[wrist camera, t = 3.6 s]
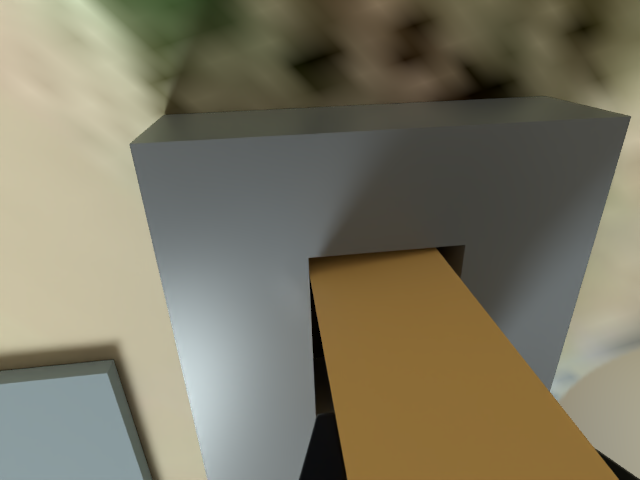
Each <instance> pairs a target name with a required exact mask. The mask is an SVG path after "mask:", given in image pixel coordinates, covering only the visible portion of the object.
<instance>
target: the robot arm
mask: <svg viewBox="0 0 640 480" xmlns="http://www.w3.org/2000/svg"><path fill="white" fill-rule="evenodd" d="M594 449H595V448H594ZM595 450H596V451H597V452H598V454H599V455H600V456H601V457H602V459H603V460H604V461H605V463H606V464H607V465H608V466H609V468H610V469H611V470H612V471H613V473H614V474H615V475H616V476H617V478H618V479H619V480H640V479H639V478H637V477H635V476H634V475H633V474H631V473H630V472H628V471H627V470H625V469H624V468H623V467H621V466H620V465H618V464H617V463H615V462H614V461H613V460H611V459H610V458H608V457H607V456H605V455H604V454H602V453H601V452H600V451H598V450H597V449H595ZM299 480H347V475H346V469H345V464H344V458H343V453H342V448H341V442H340V437H339V431H338V426H337V421H336V415H335V412H334V411H331V412H326V413H321V414H318V415H317V417H316V419H315V423H314V427H313V430H312V434H311V437H310V441H309V444H308V448H307V452H306V455H305V459H304V462H303V466H302V469H301V473H300V477H299Z"/></svg>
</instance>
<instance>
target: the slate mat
mask: <svg viewBox="0 0 640 480" xmlns="http://www.w3.org/2000/svg"><path fill="white" fill-rule="evenodd" d="M0 480H152V477H151V474H150V471H149V468H148V465H147V462H146V459H145V456H144V452H143V449H142V446H141V443H140V440H139V437H138V434H137V431H136V428H135V425H134V422H133V419H132V415H131V412H130V409H129V406H128V403H127V400H126V397H125V394H124V391H123V388H122V385H121V382H120V378H119V375H118V372H117V369H116V366H115V363H114V360H105V361H95V362H85V363H75V364H65V365H55V366H45V367H35V368H25V369H16V370H6V371H0Z"/></svg>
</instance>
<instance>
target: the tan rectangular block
mask: <svg viewBox="0 0 640 480" xmlns="http://www.w3.org/2000/svg"><path fill="white" fill-rule="evenodd" d="M308 261H309V275H310V280H311V286H312V291H313V297H314V302H315V307H316V313H317V318H318V324H319V329H320V334H321V340H322V345H323V351H324V356H325V361H326V367H327V372H328V378H329V383H330V388H331V394H332V399H333V405H334V410H335V415H336V421H337V426H338V431H339V437H340V442H341V448H342V453H343V458H344V464H345V469H346V475H347V480H619V479H618V478H617V476H616V475H615V474H614V473H613V471H612V470H611V469H610V468H609V466H608V465H607V464H606V463H605V461H604V460H603V459H602V457H601V456H600V455H599V454H598V452H597V451H596V450H595V449H594V447H593V446H592V445H591V444H590V443H589V441H588V440H587V438H586V437H585V436H584V435H583V434H582V432H581V431H580V430H579V428H578V427H577V426H576V425H575V423H574V422H573V421H572V420H571V418H570V417H569V416H568V414H566V412H565V411H564V409H563V408H562V407H561V406H560V404H559V403H558V402H557V400H556V399H555V398H554V397H553V395H552V394H551V393H550V392H549V390H548V389H547V388H546V387H545V385H544V384H543V383H542V382H541V380H540V379H539V378H538V376H537V375H536V374H535V373H534V371H533V370H532V369H531V368H530V366H529V365H528V364H527V363H526V361H525V360H524V359H523V357H522V356H521V355H520V354H519V352H518V351H517V350H516V349H515V347H514V346H513V345H512V344H511V342H510V341H509V340H508V338H507V337H506V336H505V335H504V333H503V332H502V331H501V330H500V328H499V327H498V326H497V325H496V323H495V322H494V321H493V319H492V318H491V317H490V316H489V314H488V313H487V312H486V311H485V309H484V308H483V307H482V306H481V304H480V303H479V302H478V300H477V299H476V298H475V297H474V295H473V294H472V293H471V292H470V290H469V289H468V288H467V287H466V285H465V284H464V283H463V282H462V280H461V279H460V278H459V276H458V275H457V274H456V273H455V271H454V270H453V269H452V268H451V266H450V265H449V264H448V263H447V261H446V260H445V259H444V257H443V256H442V255H441V254H440V252H439V251H438V250H437V249H436V247H434V248H422V249H409V250H397V251H385V252H373V253H361V254H349V255H337V256H325V257H313V258H308Z"/></svg>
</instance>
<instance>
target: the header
mask: <svg viewBox="0 0 640 480" xmlns="http://www.w3.org/2000/svg"><path fill="white" fill-rule="evenodd" d="M630 118H631V116H628V115H623V114H619V113H615V112H611V111H606V110H602V109H598V108H594V107H589V106H585V105H581V104H576V103H572V102H568V101H564V100H559V99H555V98H551V97H547V96H537V97H517V98H496V99H476V100H456V101H436V102H415V103H395V104H375V105H354V106H334V107H314V108H293V109H273V110H253V111H233V112H212V113H192V114H172V115H163V116H162V117H161V118H160V119H158V120H157V121H156V122H155V123H154V124H152V125H151V126H150V127H149V128H148V129H147V130H145V131H144V132H143V133H142V134H141V135H139V136H138V137H137V138H136V139H135V140H134V141H132V142H131V143H130V148H131V153H132V157H133V161H134V166H135V170H136V174H137V179H138V183H139V187H140V191H141V196H142V200H143V204H144V209H145V213H146V217H147V222H148V226H149V230H150V235H151V239H152V243H153V247H154V252H155V256H156V260H157V265H158V269H159V273H160V278H161V282H162V286H163V290H164V295H165V299H166V303H167V308H168V312H169V316H170V321H171V325H172V329H173V333H174V338H175V342H176V346H177V351H178V355H179V359H180V364H181V368H182V372H183V376H184V381H185V385H186V389H187V394H188V398H189V402H190V407H191V411H192V415H193V419H194V424H195V428H196V432H197V437H198V441H199V445H200V450H201V454H202V458H203V463H204V467H205V471H206V475H207V480H299V477H300V473H301V469H302V466H303V462H304V459H305V455H306V452H307V448H308V444H309V441H310V437H311V434H312V430H313V427H314V423H315V419H316V417H317V415H318V414H321V413H326V412H331V411H334V412H335V410H334V405H333V399H332V394H331V388H330V383H329V378H328V372H327V367H326V361H325V357H317V358H313V347H312V325H311V304H310V282H309V261H308V258H313V257H325V256H337V255H349V254H361V253H373V252H385V251H397V250H409V249H422V248H434V247H436V249H437V250H438V251H439V252H440V254H441V255H442V256H443V257H444V259H445V260H446V261H447V263H448V264H449V265H450V266H451V268H452V269H453V270H454V271H455V273H456V274H457V275H458V276H459V278H460V279H461V280H462V282H463V283H464V284H465V285H466V287H467V288H468V289H469V290H470V292H471V293H472V294H473V295H474V297H475V298H476V299H477V300H478V302H479V303H480V304H481V306H482V307H483V308H484V309H485V311H486V312H487V313H488V314H489V316H490V317H491V318H492V319H493V321H494V322H495V323H496V325H497V326H498V327H499V328H500V330H501V331H502V332H503V333H504V335H505V336H506V337H507V338H508V340H509V341H510V342H511V344H512V345H513V346H514V347H515V349H516V350H517V351H518V352H519V354H520V355H521V356H522V357H523V359H524V360H525V361H526V363H527V364H528V365H529V366H530V368H531V369H532V370H533V371H534V373H535V374H536V375H537V376H538V378H539V379H540V380H541V382H542V383H543V384H544V385H545V387H546V388H547V389H548V390H549V392H550V389H551V386H552V382H553V379H554V375H555V372H556V369H557V365H558V362H559V359H560V355H561V352H562V348H563V345H564V342H565V338H566V335H567V331H568V328H569V325H570V321H571V318H572V315H573V311H574V308H575V304H576V301H577V298H578V294H579V291H580V288H581V284H582V281H583V277H584V274H585V271H586V267H587V264H588V260H589V257H590V254H591V250H592V247H593V244H594V240H595V237H596V233H597V230H598V227H599V223H600V220H601V217H602V213H603V210H604V206H605V203H606V200H607V196H608V193H609V189H610V186H611V183H612V179H613V176H614V173H615V169H616V166H617V162H618V159H619V156H620V152H621V149H622V146H623V142H624V139H625V135H626V132H627V129H628V125H629V122H630Z"/></svg>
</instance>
